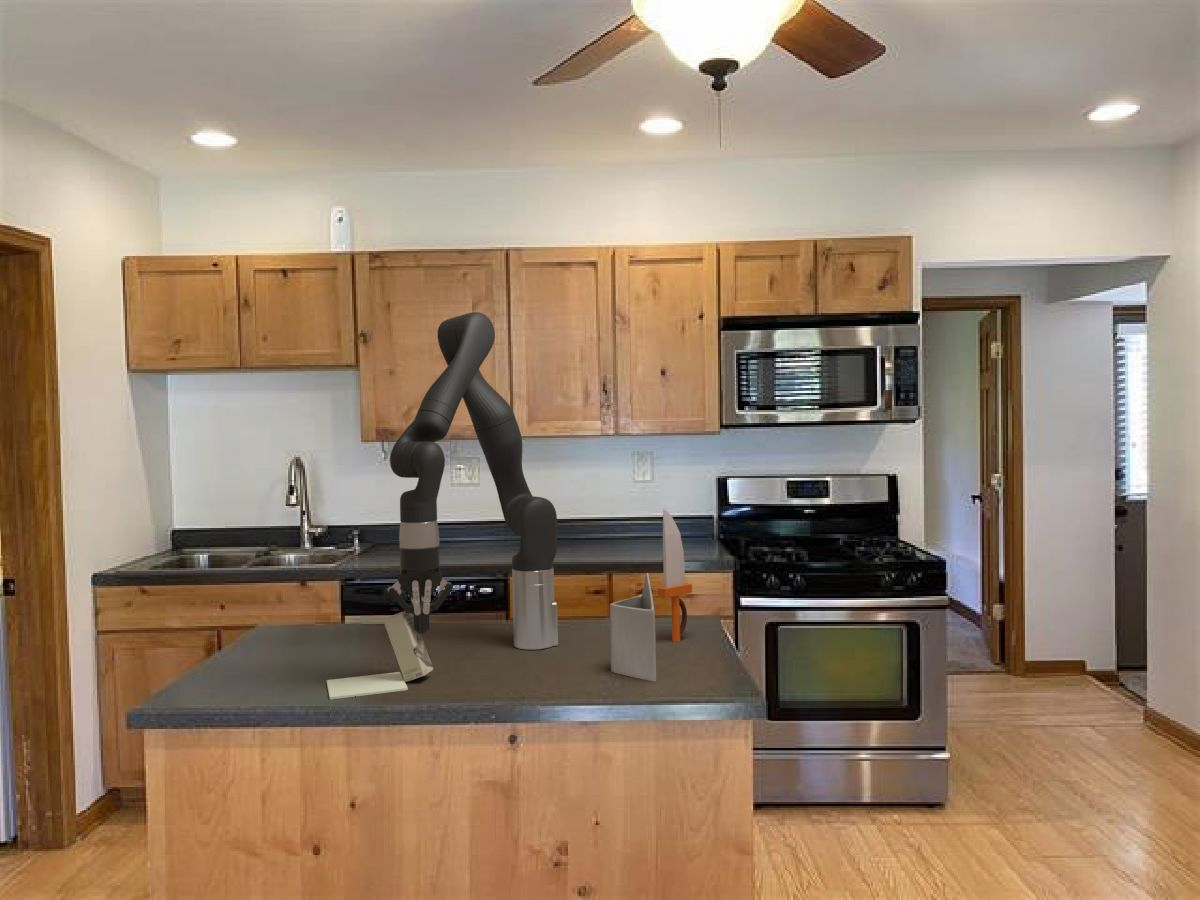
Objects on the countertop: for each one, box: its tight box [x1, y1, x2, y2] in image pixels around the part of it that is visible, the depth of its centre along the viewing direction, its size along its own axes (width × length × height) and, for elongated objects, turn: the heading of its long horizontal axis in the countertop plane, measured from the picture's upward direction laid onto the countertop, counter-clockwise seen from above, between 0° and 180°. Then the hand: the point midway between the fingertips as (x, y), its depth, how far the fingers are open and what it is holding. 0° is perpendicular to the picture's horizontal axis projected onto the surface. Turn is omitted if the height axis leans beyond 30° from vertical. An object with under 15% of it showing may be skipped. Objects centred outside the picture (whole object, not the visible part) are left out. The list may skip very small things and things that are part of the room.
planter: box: [609, 572, 657, 683], centre depth 176 cm, size 16×8×19 cm, turn 4°
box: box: [383, 610, 434, 683], centre depth 174 cm, size 5×4×13 cm
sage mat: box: [326, 671, 409, 701], centre depth 170 cm, size 14×12×1 cm
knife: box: [657, 508, 693, 643], centre depth 199 cm, size 8×2×30 cm, turn 129°
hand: (421, 633), depth 173 cm, fingers closed
